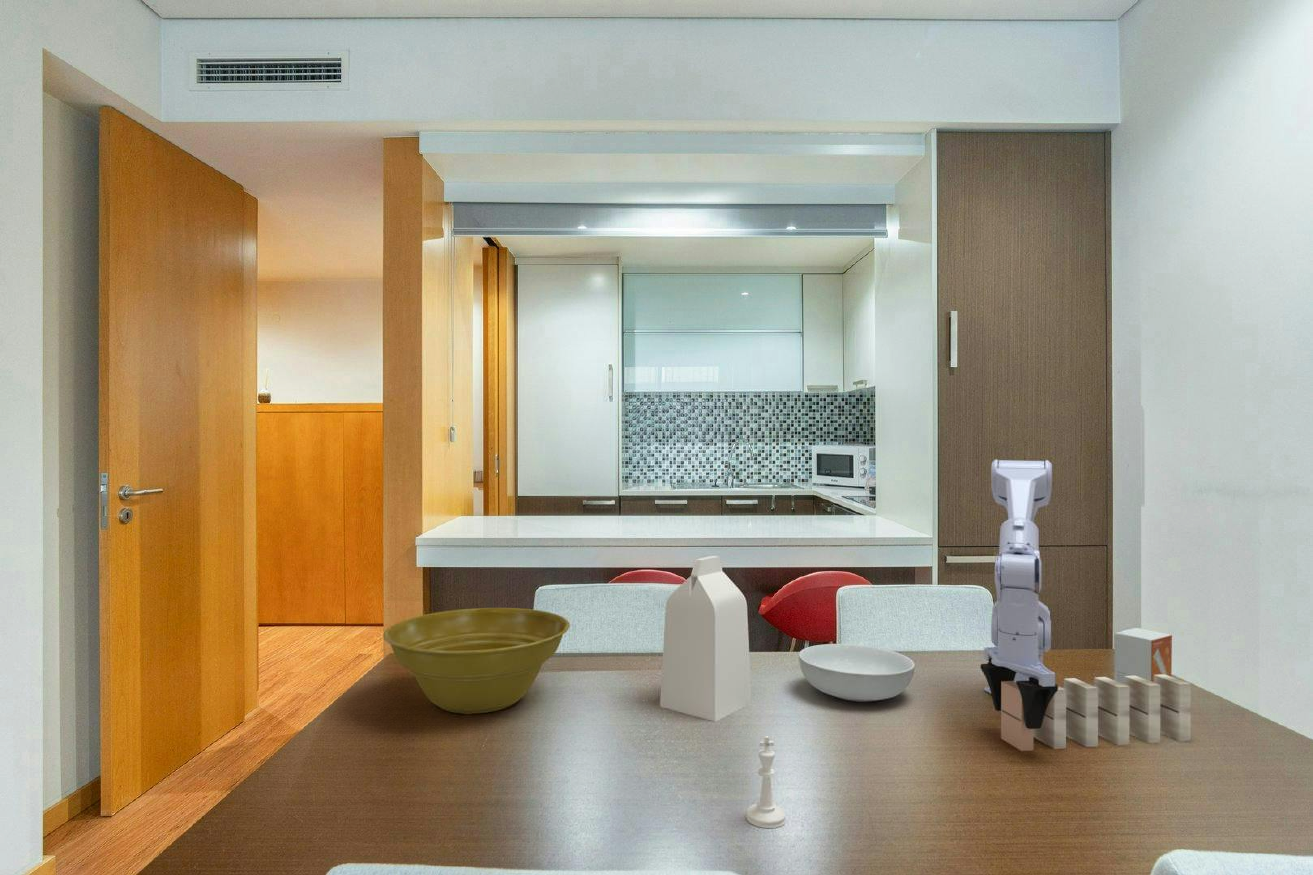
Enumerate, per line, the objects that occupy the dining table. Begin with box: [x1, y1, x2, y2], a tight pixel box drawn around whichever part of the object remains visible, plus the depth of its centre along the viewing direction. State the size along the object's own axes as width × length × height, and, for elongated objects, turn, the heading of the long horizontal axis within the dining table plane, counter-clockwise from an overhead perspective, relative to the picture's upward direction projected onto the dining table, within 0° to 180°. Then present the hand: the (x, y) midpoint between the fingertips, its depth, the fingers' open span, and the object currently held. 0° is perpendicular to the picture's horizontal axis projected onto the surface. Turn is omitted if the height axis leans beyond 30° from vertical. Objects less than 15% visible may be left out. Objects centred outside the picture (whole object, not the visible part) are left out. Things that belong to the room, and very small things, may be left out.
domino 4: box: [1124, 676, 1161, 744], centre depth 120 cm, size 5×2×9 cm, turn 9°
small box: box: [1113, 627, 1173, 684], centre depth 135 cm, size 8×6×13 cm
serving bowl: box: [798, 643, 916, 703], centre depth 140 cm, size 21×21×7 cm
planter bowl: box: [382, 607, 571, 715], centre depth 134 cm, size 32×32×13 cm
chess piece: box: [745, 735, 787, 829], centre depth 92 cm, size 5×5×10 cm
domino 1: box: [1033, 685, 1067, 750], centre depth 118 cm, size 5×2×9 cm, turn 9°
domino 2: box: [1063, 677, 1099, 748], centre depth 118 cm, size 5×2×9 cm, turn 9°
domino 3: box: [1093, 676, 1130, 746], centre depth 119 cm, size 5×2×9 cm, turn 9°
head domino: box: [1000, 681, 1034, 752], centre depth 117 cm, size 5×2×9 cm, turn 10°
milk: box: [659, 555, 752, 722], centre depth 133 cm, size 12×12×26 cm
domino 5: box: [1154, 674, 1192, 742], centre depth 121 cm, size 5×2×9 cm, turn 9°
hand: (1017, 718), depth 117 cm, fingers open, 7 cm apart
